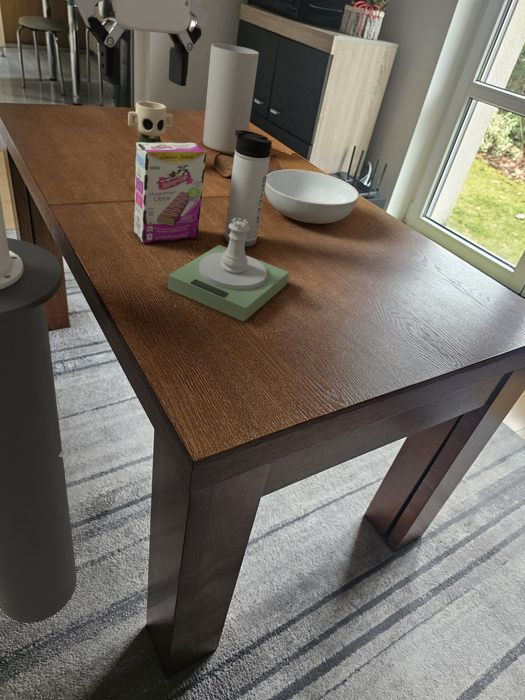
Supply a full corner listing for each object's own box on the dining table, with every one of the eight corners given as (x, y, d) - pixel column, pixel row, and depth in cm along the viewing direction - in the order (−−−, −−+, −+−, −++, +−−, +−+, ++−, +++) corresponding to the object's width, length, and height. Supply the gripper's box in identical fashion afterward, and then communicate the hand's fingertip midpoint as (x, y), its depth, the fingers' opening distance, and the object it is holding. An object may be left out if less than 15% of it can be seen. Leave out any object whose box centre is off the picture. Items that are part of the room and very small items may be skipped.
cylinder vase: (193, 144, 144) (201, 43, 129) (219, 138, 153) (229, 43, 138) (229, 156, 140) (241, 54, 125) (253, 150, 149) (267, 53, 134)
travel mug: (218, 233, 99) (230, 126, 87) (249, 232, 102) (265, 128, 90) (228, 248, 95) (242, 137, 83) (260, 247, 97) (279, 139, 85)
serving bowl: (276, 190, 124) (281, 162, 120) (358, 213, 120) (366, 184, 116) (246, 217, 108) (251, 185, 104) (340, 244, 104) (349, 212, 100)
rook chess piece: (244, 277, 80) (251, 229, 75) (216, 270, 80) (222, 223, 75) (249, 264, 83) (256, 219, 79) (223, 258, 84) (228, 213, 79)
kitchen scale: (243, 322, 76) (246, 303, 74) (167, 288, 80) (168, 270, 78) (286, 284, 87) (290, 267, 85) (217, 257, 91) (219, 240, 89)
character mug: (131, 165, 122) (132, 107, 114) (124, 155, 127) (124, 99, 119) (175, 165, 127) (178, 110, 119) (166, 156, 132) (168, 102, 124)
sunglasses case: (225, 176, 124) (223, 148, 123) (215, 182, 131) (212, 155, 130) (288, 177, 132) (286, 150, 131) (276, 182, 139) (274, 156, 137)
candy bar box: (143, 245, 90) (145, 151, 80) (133, 233, 93) (133, 141, 84) (199, 238, 96) (207, 150, 86) (188, 227, 99) (194, 141, 89)
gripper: (193, -78, 62) (184, 77, 72) (54, -113, 51) (66, 74, 61) (232, -73, 58) (216, 91, 68) (90, -110, 47) (96, 90, 57)
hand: (145, 83), depth 65 cm, fingers open, 9 cm apart
